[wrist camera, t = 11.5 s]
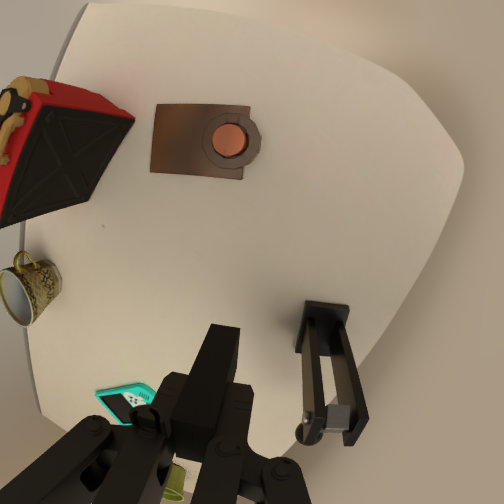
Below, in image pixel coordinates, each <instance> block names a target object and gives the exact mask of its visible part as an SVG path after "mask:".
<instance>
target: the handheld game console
mask: <svg viewBox="0 0 504 504" xmlns="http://www.w3.org/2000/svg"><path fill="white" fill-rule="evenodd" d="M155 394H156V393H155V392H154V391H153V390H152V389H151V388H150V387H148V386H147V385H144V384H141V383H139V384H134V385H129V386H124V387H119V388H113V389H108V390H102V391H97V392H96V394H95V396H96V397H97V398H98V400H99V401H100V402H101V403H102V404H103V406H104V407H105V408H106V409H107V410H108V411H109V412H110V413H111V415H112V416H113V417H114V418H115V419H116V420H117V421H118V422H119V423H120V424H121V425H132V423H131V420H130V417H129V413H128V412H129V411H130V410H131V409H132V408H133V407H136V406H138V405H143V404H146V405H150V404H151V402H152V400H153V398H154V396H155Z"/></svg>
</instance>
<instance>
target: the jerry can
mask: <svg viewBox="0 0 504 504" xmlns="http://www.w3.org/2000/svg"><path fill="white" fill-rule="evenodd" d="M134 119H135V117H133V116H132V115H131V114H129V113H128V112H126V111H125V110H122V109H119V108H118V107H116V106H115V105H114V104H112V103H111V102H110V101H108V100H107V99H105V98H104V97H103V96H101V95H100V94H96V93H93V92H90V91H88V90H86V89H83V88H79V87H75V86H71V85H67V84H63V83H59V82H55V81H50V80H46V79H36V78H31V77H26V76H20V77H17V78H16V79H14V80H13V81H12V82H11V83H10V85H8V86H7V87H6V89H3V90H2V92H1V94H0V229H1V228H4V227H7V226H10V225H13V224H16V223H19V222H22V221H24V220H27V219H30V218H34V217H37V216H40V215H43V214H46V213H49V212H53V211H56V210H59V209H62V208H66V207H69V206H73V205H76V204H80V203H83V202H87V201H88V200H89V198H90V196H91V194H92V192H93V190H94V188H95V186H96V185H97V183H98V181H99V179H100V177H101V175H102V174H103V172H104V170H105V168H106V167H107V165H108V163H109V161H110V160H111V158H112V156H113V155H114V153H115V151H116V150H117V148H118V146H119V145H120V143H121V141H122V140H123V138H124V137H125V135H126V134H127V132H128V130H129V129H130V127H131V126H132V124H133V123H134V121H135V120H134Z"/></svg>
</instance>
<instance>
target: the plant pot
mask: <svg viewBox="0 0 504 504" xmlns="http://www.w3.org/2000/svg"><path fill="white" fill-rule="evenodd" d="M185 473H186V472H185V470H184V469H183V468H182V467H180V466H176V465H174V464H173V468H172V471H171V474H170V476H169V479H168V482H167V485H166V487H165V490H164V493H163V496H162V498H163V499H166V500H170V501H175V502H181V501H183V500H184V497H183V486H184V479H185Z"/></svg>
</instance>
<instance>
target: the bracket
mask: <svg viewBox="0 0 504 504" xmlns="http://www.w3.org/2000/svg"><path fill="white" fill-rule="evenodd" d="M349 311H350V309H349V307H348V306H346V305H337V304H329V303H321V302H313V301H306V302H305V306H304V311H303V316H302V320H301V325H300V329H299V334H298V338H297V343H296V347H295V353H300V354H302V380H303V415H302V424H303V444H304V445H314V443H315V441H316V439H317V437H318V435H319V433H320V430H321V428H322V426H323V424H324V422H325V419H326V411H325V401H324V391H323V382H322V373H321V364H320V356H329V357H331V362H332V367H333V373H334V380H335V386H336V392H337V399H338V405H350V422H349V429H348V430H346V431H344V432H342V434H343V442H344V446H353V445H354V444H355V443H356V441H357V439H358V438H359V436H360V434H361V432H362V431H363V429H364V428H365V426H366V424H367V422H368V420H369V415H368V411H367V407H366V403H365V399H364V395H363V391H362V387H361V383H360V379H359V375H358V372H357V368H356V364H355V361H354V357H353V353H352V350H351V346H350V343H349V339H348V336H347V333H346V329H345V325H346V321H347V318H348V314H349Z"/></svg>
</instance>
